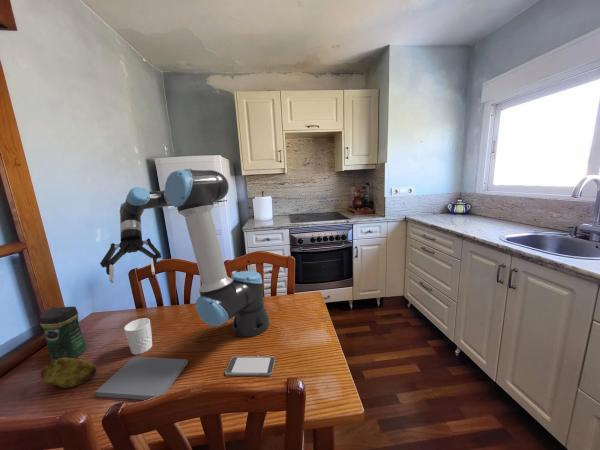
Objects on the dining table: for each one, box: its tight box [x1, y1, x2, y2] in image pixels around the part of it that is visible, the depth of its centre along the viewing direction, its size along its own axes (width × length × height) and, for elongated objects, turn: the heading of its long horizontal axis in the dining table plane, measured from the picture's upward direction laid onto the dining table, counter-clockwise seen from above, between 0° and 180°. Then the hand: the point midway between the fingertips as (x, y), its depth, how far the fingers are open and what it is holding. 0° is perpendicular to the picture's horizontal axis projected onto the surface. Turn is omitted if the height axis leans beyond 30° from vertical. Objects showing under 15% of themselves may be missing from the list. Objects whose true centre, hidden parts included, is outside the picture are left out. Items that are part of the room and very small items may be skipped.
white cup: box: [123, 317, 153, 356], centre depth 89 cm, size 8×8×10 cm
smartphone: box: [224, 356, 276, 377], centre depth 78 cm, size 7×1×15 cm
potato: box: [40, 357, 97, 388], centre depth 75 cm, size 8×13×8 cm, turn 82°
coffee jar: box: [38, 306, 87, 362], centre depth 86 cm, size 10×8×19 cm
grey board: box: [94, 356, 189, 401], centre depth 75 cm, size 20×14×2 cm
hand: (133, 277), depth 94 cm, fingers open, 13 cm apart
